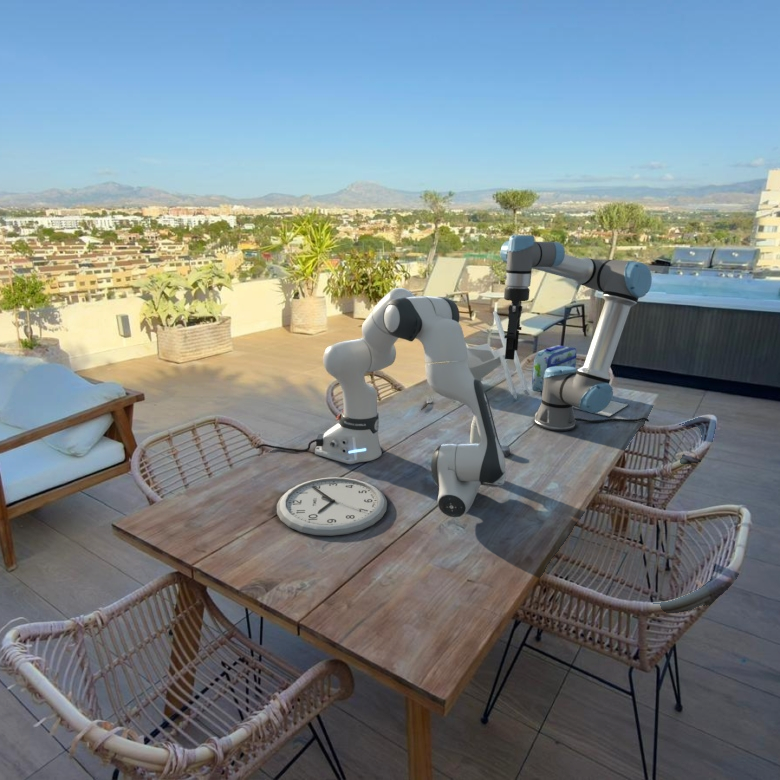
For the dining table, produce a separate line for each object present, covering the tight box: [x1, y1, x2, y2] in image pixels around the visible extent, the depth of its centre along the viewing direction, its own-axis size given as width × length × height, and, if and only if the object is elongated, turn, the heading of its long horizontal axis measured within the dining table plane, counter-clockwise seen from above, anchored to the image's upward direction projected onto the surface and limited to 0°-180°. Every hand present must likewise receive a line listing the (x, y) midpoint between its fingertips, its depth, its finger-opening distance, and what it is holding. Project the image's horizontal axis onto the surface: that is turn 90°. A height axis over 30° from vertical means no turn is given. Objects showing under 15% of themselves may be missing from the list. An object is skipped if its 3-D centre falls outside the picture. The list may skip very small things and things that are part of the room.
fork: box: [420, 395, 435, 411], centre depth 224 cm, size 3×16×2 cm, turn 160°
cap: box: [500, 444, 511, 457], centre depth 177 cm, size 5×5×2 cm
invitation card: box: [573, 400, 629, 418], centre depth 226 cm, size 21×1×15 cm
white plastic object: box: [450, 310, 531, 400], centre depth 245 cm, size 37×45×31 cm
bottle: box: [469, 416, 481, 444], centre depth 160 cm, size 5×5×22 cm
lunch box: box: [531, 345, 577, 394], centre depth 245 cm, size 26×11×21 cm, turn 134°
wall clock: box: [276, 476, 388, 537], centre depth 142 cm, size 30×2×30 cm
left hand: (475, 460), depth 157 cm, fingers open, 8 cm apart
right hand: (511, 354), depth 167 cm, fingers open, 13 cm apart
